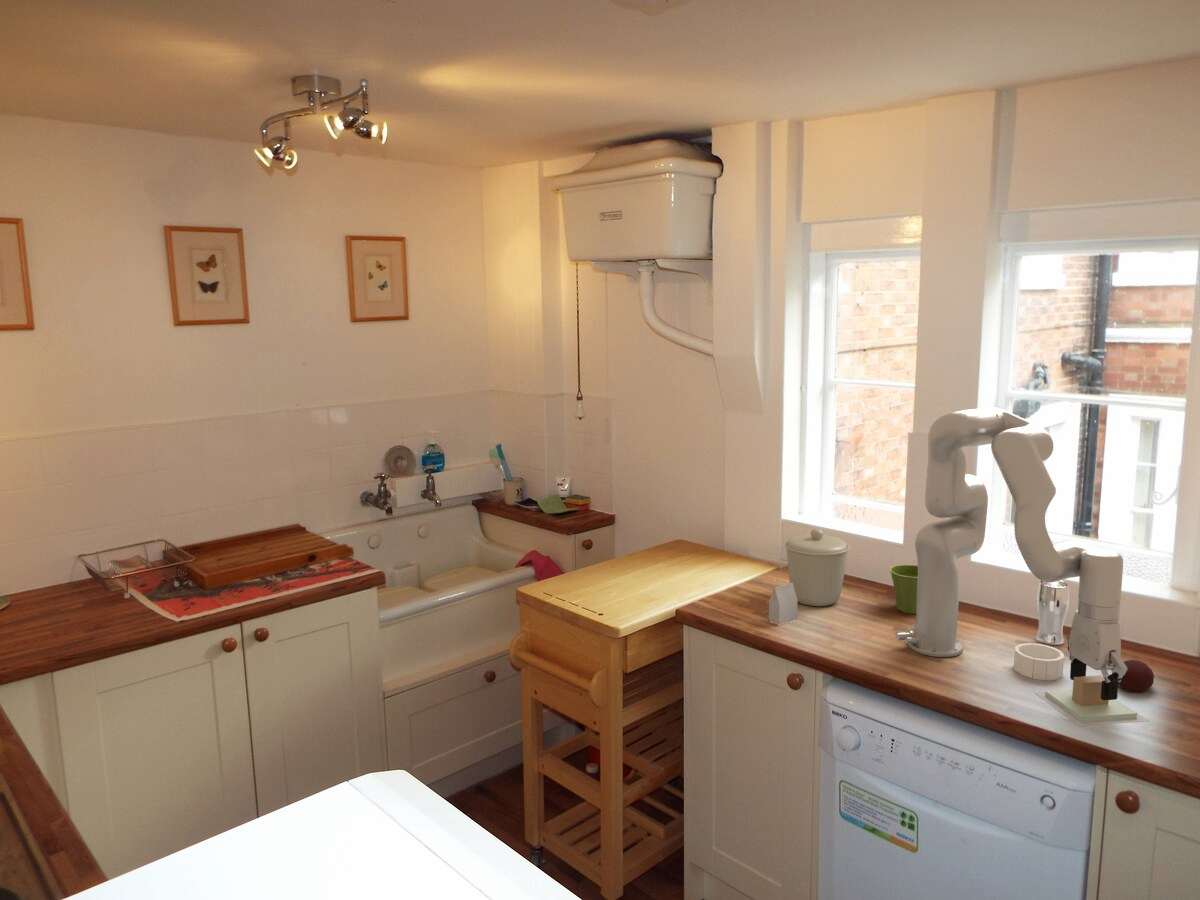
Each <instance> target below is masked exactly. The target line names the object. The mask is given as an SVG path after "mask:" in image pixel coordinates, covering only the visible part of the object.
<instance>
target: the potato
mask: <svg viewBox="0 0 1200 900" xmlns="http://www.w3.org/2000/svg"><path fill="white" fill-rule="evenodd" d="M1123 662H1124V664H1125V665H1126V666H1127V671H1126V673H1125V675H1124V678H1123V679H1121V681H1120V682H1118V687H1120V688H1122V689H1123V690H1125V691H1128V692H1132V693H1142V692H1146V691H1148V690H1149V689H1150V688H1151V687H1152V686H1153V685H1154V681H1155V680H1154V679H1155V675H1154V672H1153V669H1152V668H1150V666H1148V664H1146V663H1145V662H1143V661H1140V660H1136V659H1129V660H1123Z"/></svg>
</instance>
